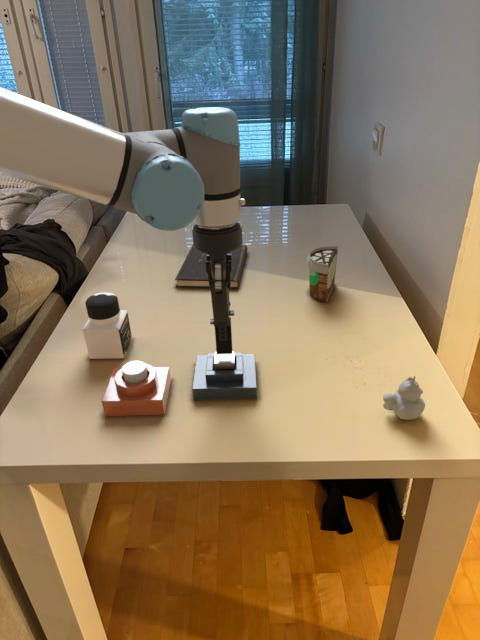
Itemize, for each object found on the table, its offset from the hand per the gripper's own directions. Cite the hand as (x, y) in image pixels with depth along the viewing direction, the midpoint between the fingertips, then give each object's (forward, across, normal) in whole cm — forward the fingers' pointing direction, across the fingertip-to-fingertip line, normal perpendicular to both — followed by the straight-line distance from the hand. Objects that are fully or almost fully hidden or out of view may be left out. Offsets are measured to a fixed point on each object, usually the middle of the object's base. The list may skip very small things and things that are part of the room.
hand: (224, 351), depth 81 cm
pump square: (+3, 0, 0) cm, 3 cm away
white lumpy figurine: (+7, -10, -29) cm, 31 cm away
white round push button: (+2, -4, +15) cm, 16 cm away
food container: (+7, +34, -22) cm, 41 cm away
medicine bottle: (+7, +11, +24) cm, 27 cm away
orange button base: (+7, -4, +15) cm, 17 cm away
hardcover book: (+7, +49, +4) cm, 49 cm away
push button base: (+7, 0, 0) cm, 7 cm away
